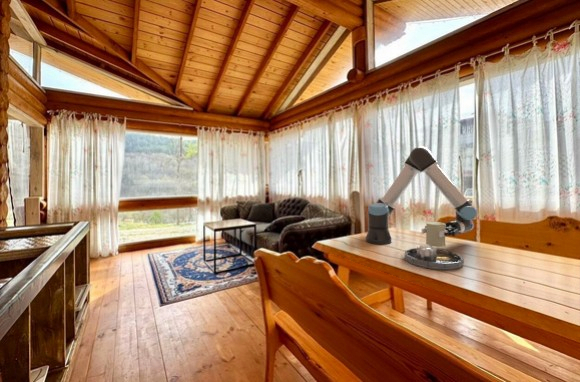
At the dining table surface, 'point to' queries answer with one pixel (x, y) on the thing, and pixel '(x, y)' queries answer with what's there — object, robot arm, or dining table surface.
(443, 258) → the carrier plate
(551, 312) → the dining table surface
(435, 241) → the can
